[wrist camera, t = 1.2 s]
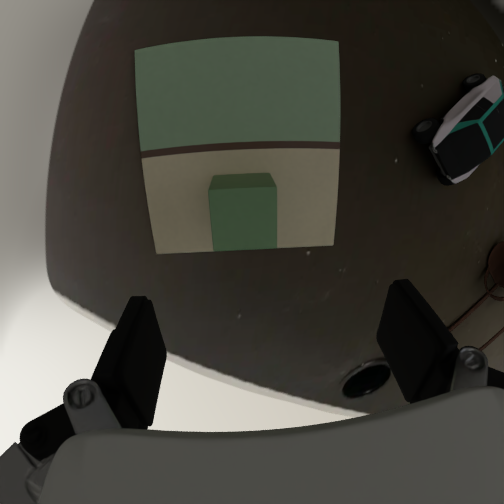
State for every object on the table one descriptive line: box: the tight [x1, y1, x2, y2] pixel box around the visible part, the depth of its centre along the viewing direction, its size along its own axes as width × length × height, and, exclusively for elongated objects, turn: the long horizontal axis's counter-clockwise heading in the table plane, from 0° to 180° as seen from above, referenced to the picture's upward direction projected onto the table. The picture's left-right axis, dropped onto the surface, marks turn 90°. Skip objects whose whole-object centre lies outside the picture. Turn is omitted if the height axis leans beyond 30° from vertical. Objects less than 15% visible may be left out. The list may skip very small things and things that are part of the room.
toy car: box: [412, 74, 504, 185], centre depth 18 cm, size 6×12×5 cm, turn 135°
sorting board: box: [135, 36, 340, 254], centre depth 22 cm, size 16×18×1 cm
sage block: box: [208, 173, 277, 251], centre depth 22 cm, size 4×4×4 cm
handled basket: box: [448, 241, 504, 351], centre depth 28 cm, size 18×12×7 cm, turn 142°
